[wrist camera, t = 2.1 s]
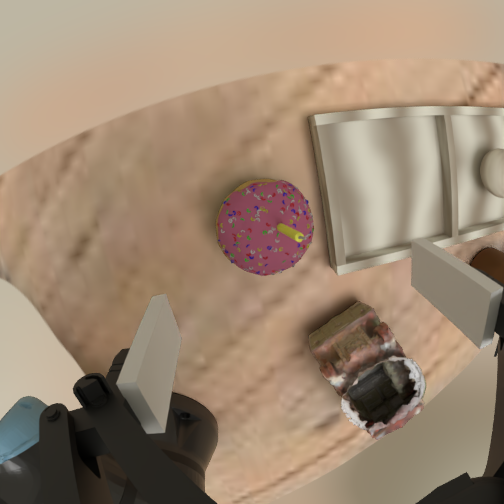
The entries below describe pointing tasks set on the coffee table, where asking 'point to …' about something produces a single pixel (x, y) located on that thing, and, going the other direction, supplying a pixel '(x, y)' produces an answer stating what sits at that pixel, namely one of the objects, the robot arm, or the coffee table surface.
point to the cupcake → (264, 226)
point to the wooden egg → (493, 172)
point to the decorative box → (368, 370)
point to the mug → (490, 263)
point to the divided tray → (404, 180)
